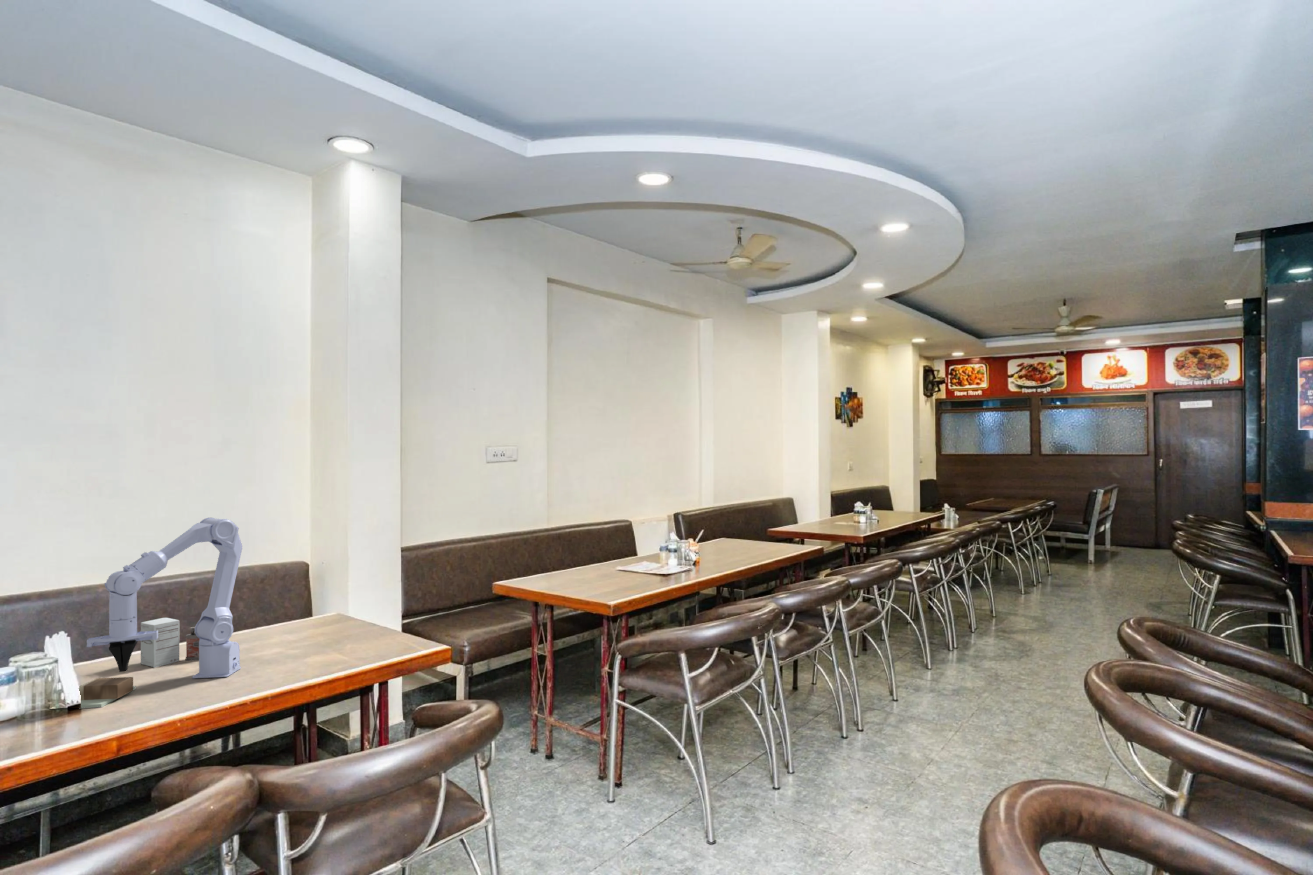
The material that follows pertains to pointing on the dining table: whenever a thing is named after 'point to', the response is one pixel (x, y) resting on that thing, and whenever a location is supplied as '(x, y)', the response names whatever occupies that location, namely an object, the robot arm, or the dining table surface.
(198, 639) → the small bottle
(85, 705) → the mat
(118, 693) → the walnut block
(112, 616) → the robot arm
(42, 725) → the dining table surface
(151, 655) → the supplement box
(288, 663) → the dining table surface
